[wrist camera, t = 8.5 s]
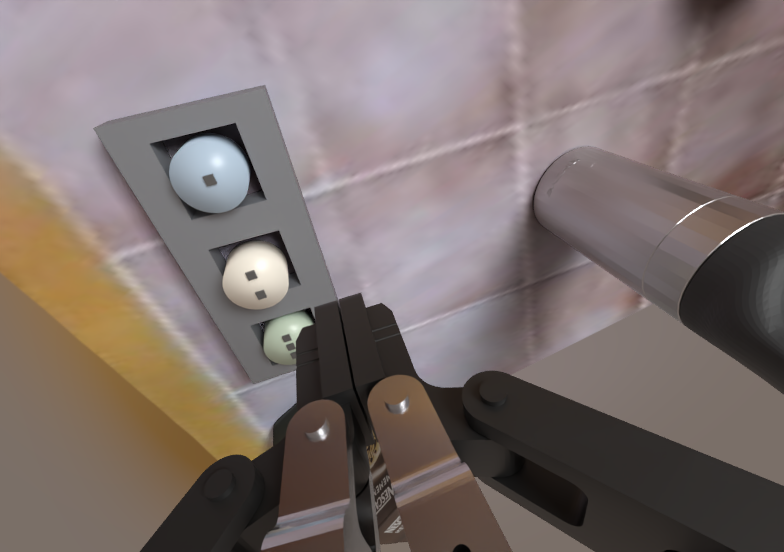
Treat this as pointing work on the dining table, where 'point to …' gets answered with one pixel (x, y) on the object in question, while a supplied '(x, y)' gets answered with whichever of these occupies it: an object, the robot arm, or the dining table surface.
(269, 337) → the sage button
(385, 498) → the coffee box
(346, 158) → the dining table surface
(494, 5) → the dining table surface
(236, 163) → the blue button
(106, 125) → the button board
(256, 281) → the cream button
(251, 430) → the dining table surface
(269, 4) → the dining table surface
